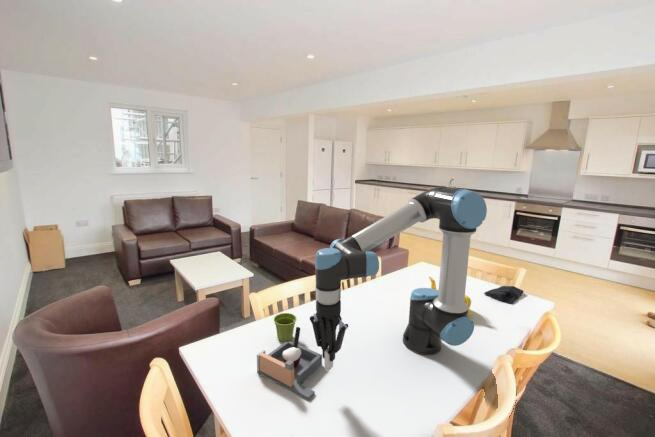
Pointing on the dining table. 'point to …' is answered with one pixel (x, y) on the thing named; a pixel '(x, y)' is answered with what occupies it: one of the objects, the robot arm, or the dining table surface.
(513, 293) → the dark slate chunk
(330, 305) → the robot arm
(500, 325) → the dining table surface
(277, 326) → the plant pot
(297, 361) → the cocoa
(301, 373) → the box
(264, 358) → the cover
